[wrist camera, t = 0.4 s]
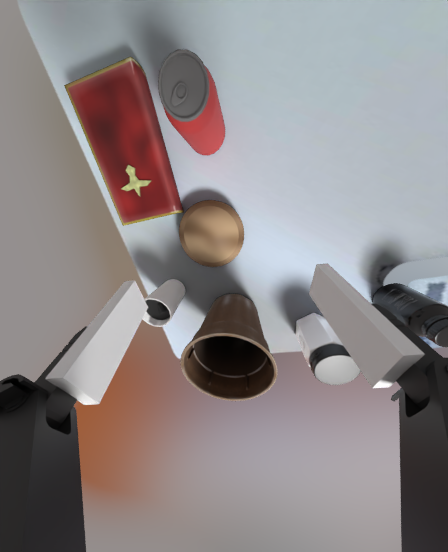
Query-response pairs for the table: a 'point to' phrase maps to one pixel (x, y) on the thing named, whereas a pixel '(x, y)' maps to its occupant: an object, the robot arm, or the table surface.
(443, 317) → the supplement bottle
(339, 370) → the jar
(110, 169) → the hardcover book
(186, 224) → the shallow wooden bowl
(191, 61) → the beer can
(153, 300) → the white cup
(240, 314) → the plant pot
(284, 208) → the table surface
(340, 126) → the table surface
